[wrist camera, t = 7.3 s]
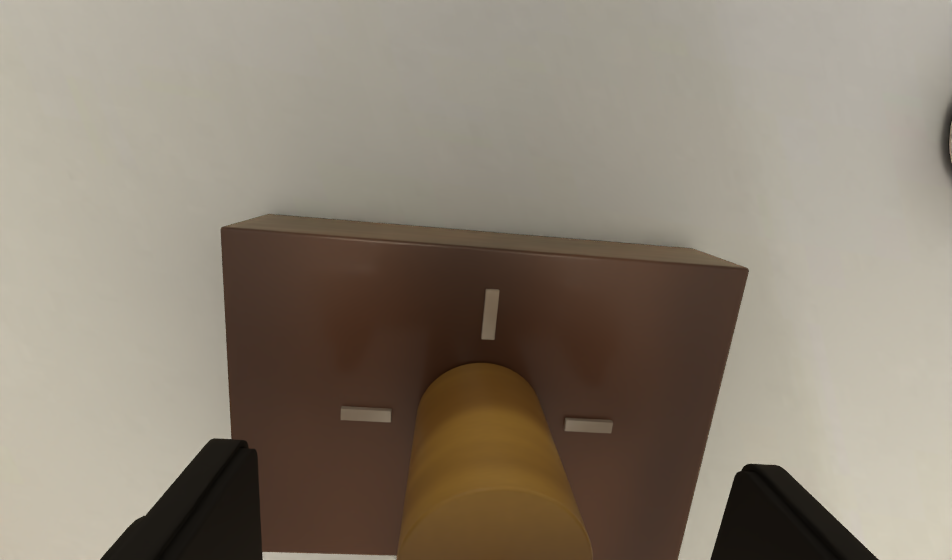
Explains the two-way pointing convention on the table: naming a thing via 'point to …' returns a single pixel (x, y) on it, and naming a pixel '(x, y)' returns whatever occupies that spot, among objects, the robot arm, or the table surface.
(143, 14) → the table surface
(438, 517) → the dial knob
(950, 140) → the pill bottle
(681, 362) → the brown dial base
